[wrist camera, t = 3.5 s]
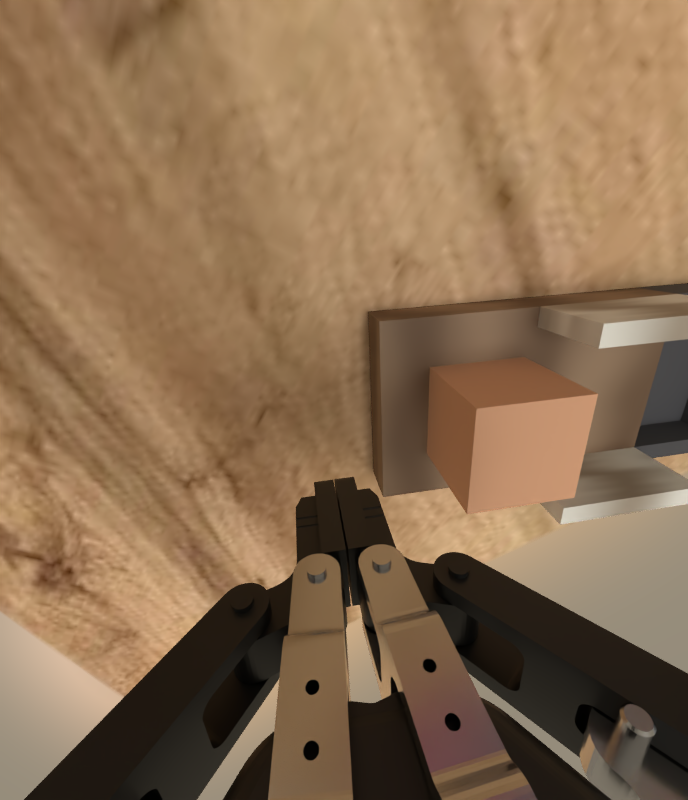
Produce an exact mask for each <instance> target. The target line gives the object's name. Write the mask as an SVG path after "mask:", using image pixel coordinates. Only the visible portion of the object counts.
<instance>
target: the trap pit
mask: <svg viewBox="0 0 688 800" xmlns="http://www.w3.org/2000/svg"><path fill="white" fill-rule="evenodd" d="M641 289H648V290H655V291H662V292H669V293H675V294H682V295H688V283H685V284H674V285H663V286H652V287H641ZM634 447H635V448H636V449H638V450H640V451H641V452H643V453H645V454H646V455H648V456H650V457H651V458H656V457H663V456H670V455H677V454H683V453H688V339H684V340H675V341H665V342H664V345H663V348H662V352H661V355H660V359H659V362H658V366H657V369H656V373H655V376H654V380H653V383H652V387H651V390H650V393H649V397H648V400H647V404H646V407H645V411H644V414H643V418H642V421H641V425H640V428H639V432H638V435H637V439H636V442H635V446H634Z"/></svg>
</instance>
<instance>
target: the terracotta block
mask: <svg viewBox="0 0 688 800" xmlns="http://www.w3.org/2000/svg"><path fill="white" fill-rule="evenodd" d="M597 397H598V394H597V393H595V392H593V391H591V390H589V389H587V388H585V387H583V386H581V385H579V384H577V383H575V382H573V381H571V380H569V379H567V378H565V377H563V376H561V375H559V374H557V373H555V372H553V371H551V370H549V369H547V368H545V367H543V366H541V365H539V364H537V363H535V362H533V361H531V360H529V359H527V358H525V357H520V358H511V359H501V360H492V361H483V362H474V363H464V364H455V365H446V366H436V367H430V376H429V406H428V436H427V454H428V456H429V457H430V459H431V460H432V462H433V464H434V465H435V467H436V468H437V470H438V471H439V473H440V474H441V476H442V477H443V479H444V480H445V482H446V483H447V485H448V486H449V488H450V489H451V491H452V492H453V494H454V495H455V497H456V498H457V500H458V501H459V503H460V504H461V506H462V507H463V509H464V510H465V512H466V513H467V514H472V513H478V512H485V511H491V510H498V509H504V508H511V507H517V506H524V505H530V504H537V503H543V502H550V501H556V500H563V499H569V498H574V497H575V493H576V489H577V484H578V480H579V476H580V471H581V467H582V463H583V458H584V454H585V449H586V445H587V441H588V436H589V432H590V428H591V423H592V419H593V414H594V410H595V406H596V401H597Z"/></svg>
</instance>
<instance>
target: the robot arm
mask: <svg viewBox="0 0 688 800" xmlns="http://www.w3.org/2000/svg"><path fill="white" fill-rule="evenodd" d="M314 486H315V496H311V497H303V498H301V499H300V501H299V503H298V505H297V507H296V536H297V565H296V567H295V569H294V572H293V573H292V575H291V576H290V577H289V578H288V579H287V580H285V581H284V582H283V583H281V584H279V585H277V586H275V587H273V588H270V589H268V590H266V589H265V588H264V587H263V586H261V585H259V584H255V583H245V584H241V585H239V586H236V587H234V588H232V589H231V590H230V591H228V592H227V593H226V594H225V595H224V596H223V597H222V598H221V599H220V600H219V601H218V602H217V603H216V604H215V605H214V606H213V607H212V608H211V609H210V610H209V611H208V612H207V613H206V614H205V615H204V616H203V617H202V619H201V620H200V621H199V622H198V623H197V624H196V625H195V626H194V627H193V628H192V629H191V630H190V631H189V632H188V633H187V634H186V635H185V636H184V637H183V638H182V639H181V640H180V641H179V642H178V643H177V644H176V645H175V646H174V647H173V648H172V649H171V650H170V651H169V652H168V653H167V654H166V655H165V656H164V657H163V658H162V659H161V660H160V661H159V662H158V663H157V664H156V665H155V666H154V667H153V669H152V670H151V671H150V672H149V673H148V674H147V675H146V676H145V677H144V678H143V679H142V680H141V681H140V682H139V683H138V684H137V685H136V686H135V687H134V688H133V689H132V690H131V691H130V692H129V693H128V694H127V695H126V696H125V697H124V698H123V699H122V700H121V701H120V702H119V703H118V704H117V705H116V706H115V707H114V708H113V709H112V710H111V711H110V712H109V713H108V714H107V715H106V716H105V717H104V718H103V720H102V721H101V722H100V723H99V724H98V725H97V726H96V727H95V728H94V729H93V730H92V731H91V732H90V733H89V734H88V735H87V736H86V737H85V738H84V739H83V740H82V741H81V742H80V743H79V744H78V745H77V746H76V747H75V748H74V749H73V750H72V751H71V752H70V753H69V754H68V755H67V756H66V757H65V758H64V759H63V760H62V761H61V762H60V763H59V765H58V766H57V767H55V768H54V770H53V771H52V772H51V773H50V774H49V775H48V776H47V777H46V778H45V779H44V780H43V781H42V782H41V783H40V784H39V785H38V786H37V787H36V788H35V789H34V790H33V791H32V792H31V793H30V794H29V795H28V796H27V797H26V798H25V799H24V800H197V799H198V797H199V796H200V794H201V793H202V791H203V790H204V788H205V787H206V785H207V784H208V782H209V781H210V779H211V778H212V777H213V775H214V773H215V772H216V771H217V769H218V768H219V766H220V765H221V763H222V762H223V760H224V759H225V757H226V756H227V754H228V753H229V751H230V750H231V748H232V747H233V745H234V744H235V743H236V741H237V740H238V738H239V737H240V735H241V734H242V732H243V731H244V730H245V728H246V727H247V725H248V724H249V722H250V721H251V719H252V718H253V716H254V715H255V713H256V712H257V710H258V709H259V707H260V706H261V705H262V703H263V702H264V700H265V699H266V697H267V696H268V694H269V693H270V691H271V690H272V688H273V687H274V685H275V684H276V682H277V681H278V679H279V689H278V699H277V710H276V721H275V731H274V732H273V733H272V734H270V735H269V736H268V737H267V738H266V739H265V740H264V741H263V742H262V743H261V744H260V745H259V746H258V747H257V748H256V749H255V750H254V752H253V753H252V754H251V756H250V757H249V758H248V760H247V761H246V763H245V764H244V766H243V768H242V769H241V770H240V772H239V774H238V775H237V777H236V779H235V781H234V782H233V784H232V785H231V787H230V789H229V790H228V792H227V794H226V795H225V797H224V799H223V800H688V674H687V673H685V672H684V671H682V670H680V669H678V668H676V667H674V666H673V665H671V664H669V663H667V662H665V661H663V660H661V659H659V658H658V657H656V656H654V655H652V654H650V653H648V652H647V651H645V650H643V649H641V648H639V647H637V646H635V645H634V644H632V643H630V642H628V641H626V640H624V639H622V638H621V637H619V636H617V635H615V634H613V633H611V632H609V631H607V630H606V629H604V628H602V627H600V626H598V625H596V624H594V623H593V622H591V621H589V620H587V619H585V618H583V617H581V616H579V615H578V614H576V613H574V612H572V611H570V610H568V609H567V608H565V607H563V606H561V605H559V604H557V603H556V602H554V601H552V600H550V599H548V598H546V597H544V596H542V595H541V594H539V593H537V592H535V591H533V590H531V589H530V588H528V587H526V586H524V585H522V584H520V583H518V582H517V581H515V580H513V579H511V578H509V577H507V576H505V575H504V574H502V573H500V572H498V571H496V570H494V569H492V568H491V567H489V566H487V565H485V564H483V563H481V562H479V561H478V560H476V559H474V558H472V557H470V556H468V555H466V554H463V553H457V552H450V553H445V554H443V555H441V556H439V557H438V558H437V559H436V561H435V563H434V564H428V563H420V562H415V561H412V560H410V559H407V558H406V557H404V556H403V555H402V553H401V552H400V551H399V550H398V549H396V547H395V544H394V541H393V538H392V536H391V533H390V530H389V527H388V524H387V521H386V518H385V516H384V513H383V510H382V508H381V504H380V501H379V498H378V496H377V495H376V494H375V493H374V492H373V491H372V490H370V489H362V490H357V487H356V483H355V480H354V477H349V478H341V479H335V487H334V482H333V480H327V481H319V482H314ZM335 492H336V493H335ZM349 587H350V592H349ZM350 593H351V598H352V604H353V606H354V605H360V608H361V613H362V622H363V630H364V634H365V638H366V641H367V645H368V649H369V652H370V656H371V660H372V664H373V667H374V671H375V675H376V678H377V682H378V686H379V690H380V694H381V698H382V700H380V701H378V702H376V703H362V702H353V701H351V698H350V683H349V668H348V653H347V637H346V627H347V612H346V607H349V606H351V604H350ZM468 673H469V674H471V675H472V676H473V677H474V678H476V679H477V680H478V681H480V682H481V683H482V684H484V685H485V686H486V687H488V688H489V689H490V690H492V691H493V692H494V693H496V694H497V695H498V696H499V697H501V698H502V699H503V700H505V701H506V702H508V703H509V704H510V705H511V706H513V707H514V708H515V709H517V710H518V711H519V712H521V713H522V714H523V715H525V716H526V717H527V718H528V719H530V720H531V721H533V722H534V723H535V724H537V725H538V726H539V727H540V728H542V729H543V730H544V731H546V732H547V733H548V734H550V735H551V736H552V737H554V738H555V739H556V740H558V741H559V742H560V743H561V744H563V745H564V746H565V747H567V748H568V749H569V750H571V751H572V752H573V753H575V754H576V755H577V756H579V757H580V760H581V764H582V767H583V769H584V772H585V774H586V776H587V777H588V779H589V781H590V782H589V781H588V780H587V779H586V778H585V777H583V776H582V775H581V774H580V773H579V772H577V771H576V770H575V769H574V768H572V767H571V766H570V765H569V764H568V763H566V762H565V761H564V760H563V759H561V758H560V757H559V756H558V755H557V754H555V753H554V752H553V751H552V750H550V749H549V748H548V747H547V746H546V745H544V744H543V743H542V742H541V741H540V740H538V739H537V738H536V737H535V736H533V735H532V734H531V733H530V732H529V731H527V730H526V729H525V728H524V727H522V726H521V725H520V724H519V723H518V722H517V721H515V720H514V719H513V718H512V717H510V716H509V715H508V714H507V713H505V712H504V711H503V710H501V709H500V708H498V707H497V706H495V705H494V704H492V703H491V702H489V701H487V700H485V699H483V698H481V697H479V695H478V693H477V690H476V688H475V686H474V684H473V682H472V680H471V678H470V676H469V674H468ZM279 677H280V678H279Z"/></svg>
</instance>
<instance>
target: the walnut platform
mask: <svg viewBox="0 0 688 800" xmlns="http://www.w3.org/2000/svg"><path fill="white" fill-rule="evenodd" d="M368 317H369V347H370V376H371V406H372V436H373V466H374V474H375V477H376V479H377V482H378V485H379V487H380V490H381V492H382V495H383V497H386V496H393V495H400V494H407V493H414V492H421V491H428V490H435V489H442V488H448V487H449V486H448V485H447V483H446V482H445V480H444V479H443V477H442V476H441V474H440V473H439V471H438V470H437V468H436V467H435V465H434V464H433V462H432V460H431V459H430V457H429V456H428V454H427V436H428V406H429V376H430V367H436V366H446V365H455V364H464V363H474V362H483V361H492V360H501V359H511V358H520V357H525V358H527V359H529V360H531V361H533V362H535V363H537V364H539V365H541V366H543V367H545V368H547V369H549V370H551V371H553V372H555V373H557V374H559V375H561V376H563V377H565V378H567V379H569V380H571V381H573V382H575V383H577V384H579V385H581V386H583V387H585V388H587V389H589V390H591V391H593V392H595V393H597V394H598V397H597V401H596V406H595V410H594V414H593V419H592V423H591V428H590V432H589V436H588V441H587V445H586V449H585V454H584V458H583V463H582V467H581V471H580V476H579V480H578V484H577V489H576V493H575V497H574V498H569V499H563V500H556V501H550V502H543V503H540V504H541V505H542V506H543V507H544V508H545V509H546V510H547V511H548V512H549V513H550V514H551V515H552V516H553V517H554V518H555V520H556V521H557V522H558V523H559V524H566V523H573V522H579V521H585V520H590V519H597V518H604V517H610V516H615V515H621V514H628V513H634V512H641V511H647V510H653V509H659V508H665V507H671V506H678V505H684V504H688V479H686V478H685V477H683V476H681V475H680V474H678V473H676V472H675V471H673V470H671V469H670V468H668V467H666V466H665V465H663V464H661V463H660V462H658V461H656V460H655V459H653V458H651V457H650V456H648V455H646V454H645V453H643V452H641V451H640V450H638V449H636V448H635V447H634V446H635V442H636V439H637V435H638V432H639V428H640V425H641V421H642V418H643V414H644V411H645V407H646V404H647V400H648V397H649V393H650V390H651V387H652V383H653V380H654V376H655V373H656V369H657V366H658V362H659V359H660V355H661V352H662V348H663V345H664V342H665V341H675V340H684V339H688V295H682V294H675V293H669V292H662V291H655V290H648V289H641V288H629V289H618V290H607V291H596V292H584V293H573V294H562V295H551V296H540V297H528V298H517V299H506V300H495V301H484V302H472V303H461V304H450V305H439V306H427V307H416V308H405V309H394V310H383V311H371V312H368Z"/></svg>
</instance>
